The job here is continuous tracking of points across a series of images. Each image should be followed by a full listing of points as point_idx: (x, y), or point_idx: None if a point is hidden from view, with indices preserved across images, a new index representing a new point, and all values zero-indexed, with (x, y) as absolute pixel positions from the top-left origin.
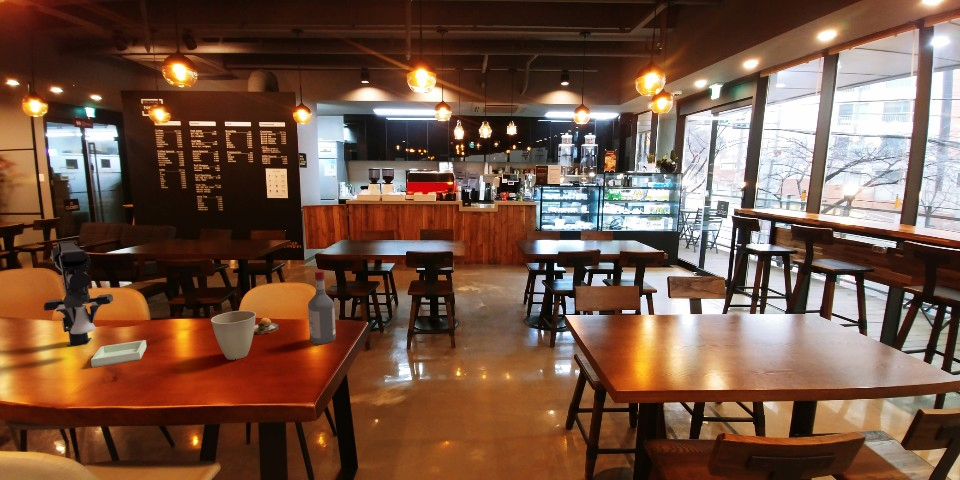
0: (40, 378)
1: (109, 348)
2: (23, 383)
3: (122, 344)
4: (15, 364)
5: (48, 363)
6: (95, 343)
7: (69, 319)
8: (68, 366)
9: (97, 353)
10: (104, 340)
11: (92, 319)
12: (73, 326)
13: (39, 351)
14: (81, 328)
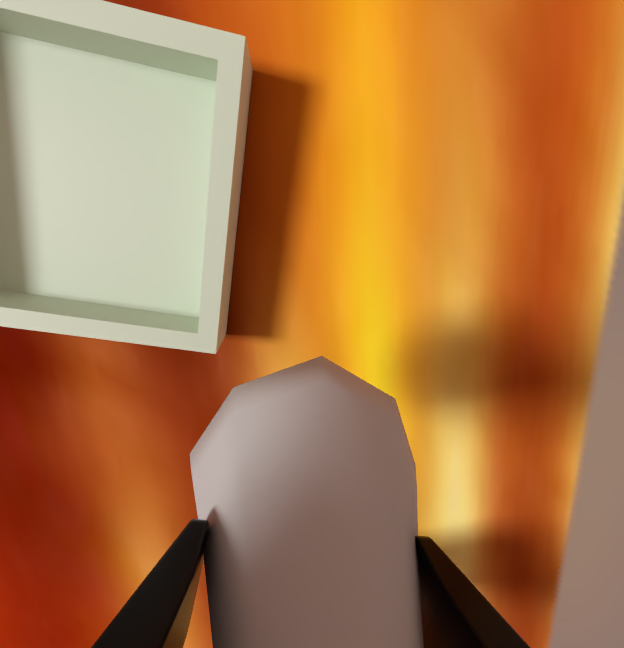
0: (509, 73)
1: (171, 323)
2: (587, 41)
3: (81, 317)
4: (564, 419)
5: (457, 342)
6: None
7: (507, 642)
8: (377, 213)
9: (217, 191)
10: None
11: (162, 567)
12: (408, 502)
13: (474, 535)
14: (320, 412)
